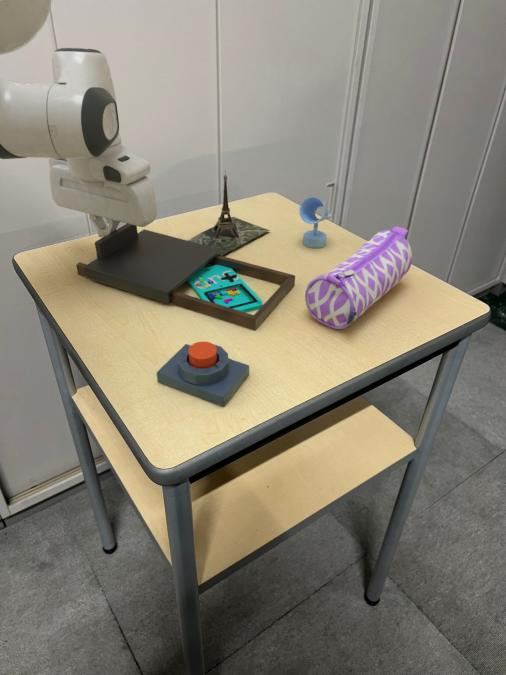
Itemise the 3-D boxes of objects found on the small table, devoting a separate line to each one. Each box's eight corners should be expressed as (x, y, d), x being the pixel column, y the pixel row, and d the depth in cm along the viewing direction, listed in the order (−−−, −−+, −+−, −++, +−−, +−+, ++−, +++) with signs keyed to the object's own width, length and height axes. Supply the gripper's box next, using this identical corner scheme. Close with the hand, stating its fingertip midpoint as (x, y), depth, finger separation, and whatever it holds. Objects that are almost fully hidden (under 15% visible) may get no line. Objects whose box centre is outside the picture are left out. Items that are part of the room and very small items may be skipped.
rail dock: (77, 274, 90) (75, 264, 89) (131, 240, 101) (130, 231, 99) (255, 330, 78) (255, 319, 76) (294, 285, 88) (295, 275, 87)
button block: (157, 382, 68) (155, 361, 66) (186, 353, 73) (185, 333, 71) (223, 407, 64) (223, 386, 62) (249, 375, 69) (249, 354, 67)
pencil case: (349, 343, 76) (358, 287, 70) (296, 320, 80) (300, 266, 74) (410, 283, 90) (422, 233, 84) (362, 266, 94) (370, 218, 89)
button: (183, 364, 66) (182, 353, 65) (198, 348, 69) (198, 338, 68) (207, 372, 65) (207, 362, 64) (222, 357, 67) (221, 346, 66)
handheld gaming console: (226, 261, 93) (265, 302, 82) (226, 266, 94) (265, 308, 83) (182, 271, 90) (216, 315, 79) (182, 276, 90) (216, 320, 80)
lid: (85, 277, 88) (80, 250, 85) (145, 239, 100) (142, 214, 97) (169, 304, 82) (166, 275, 79) (221, 260, 94) (221, 233, 91)
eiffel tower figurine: (221, 259, 96) (220, 188, 88) (182, 243, 100) (177, 175, 92) (270, 232, 105) (272, 166, 97) (231, 218, 110) (231, 155, 102)
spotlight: (318, 253, 98) (331, 239, 103) (323, 203, 92) (337, 191, 97) (294, 247, 100) (308, 234, 105) (298, 197, 94) (313, 186, 99)
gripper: (33, 154, 85) (51, 232, 94) (134, 176, 78) (143, 258, 87) (60, 145, 90) (75, 219, 98) (158, 164, 83) (165, 243, 91)
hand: (108, 237), depth 92 cm, fingers closed
